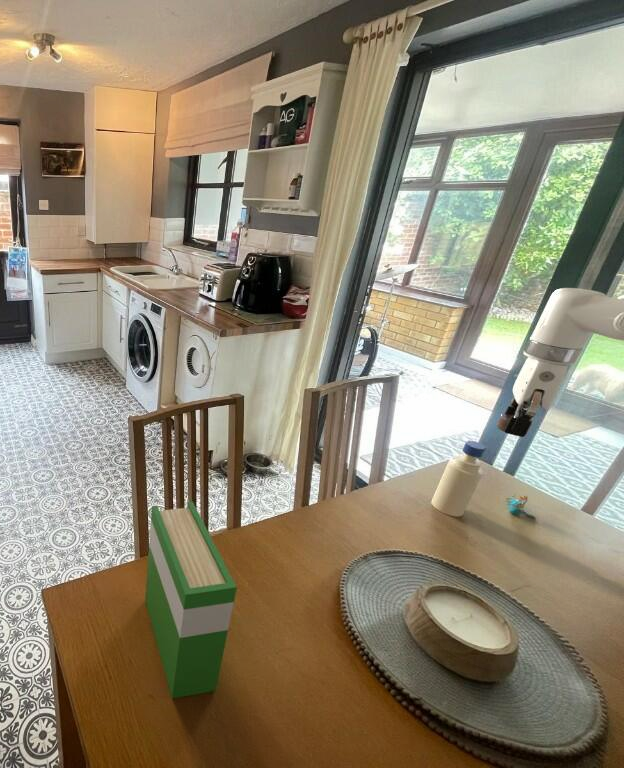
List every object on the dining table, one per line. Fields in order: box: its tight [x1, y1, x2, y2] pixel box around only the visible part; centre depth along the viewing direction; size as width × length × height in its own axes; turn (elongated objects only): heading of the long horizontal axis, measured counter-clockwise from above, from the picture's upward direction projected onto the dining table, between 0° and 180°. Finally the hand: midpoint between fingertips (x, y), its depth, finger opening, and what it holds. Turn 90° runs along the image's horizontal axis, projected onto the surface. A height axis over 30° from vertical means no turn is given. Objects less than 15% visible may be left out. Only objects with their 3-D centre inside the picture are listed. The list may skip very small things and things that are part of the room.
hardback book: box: [144, 501, 238, 700], centre depth 69 cm, size 18×7×24 cm, turn 10°
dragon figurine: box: [506, 494, 535, 518], centre depth 107 cm, size 6×7×8 cm
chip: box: [496, 413, 533, 436], centre depth 89 cm, size 5×5×3 cm
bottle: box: [431, 440, 487, 517], centre depth 103 cm, size 7×7×19 cm
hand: (512, 428), depth 90 cm, fingers closed on chip, 5 cm apart
